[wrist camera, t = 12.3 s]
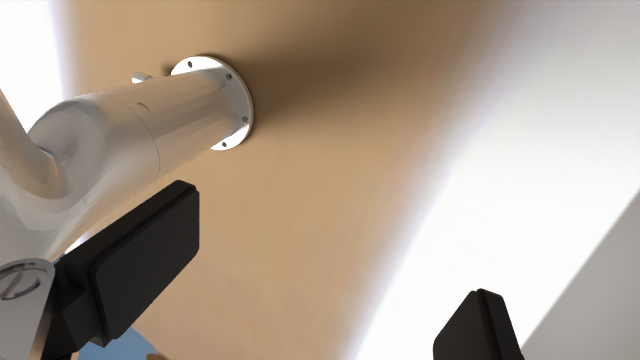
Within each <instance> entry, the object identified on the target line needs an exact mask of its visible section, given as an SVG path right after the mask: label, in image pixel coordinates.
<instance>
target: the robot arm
mask: <svg viewBox="0 0 640 360" xmlns="http://www.w3.org/2000/svg"><path fill="white" fill-rule="evenodd" d="M231 76H232V77H231ZM132 82H133V84H129V85H125V86H120V87H116V88H111V89H107V90H102V91H98V92H93V93H89V94H84V95H80V96H76V97H73V98H70V99H67V100H64V101H62V102H60V103H58V104H57V105H55V106H54V107H52V108H51V109H49V110H48V111H47V112H46V113H45V114H43V115H42V116H41V117H40V118H39V119H38V120H37V122H36V123H35V124H34V125H33V126H32V128H31V129H30V130H29V132H28V133H26V132H25V130H24V128H23V127H22V125H21V123H20V122H19V120H18V118H17V116H16V115H15V113H14V111H13V110H12V108H11V106H10V105H9V103H8V101H7V99H6V98H5V96H4V94H3V93H2V91H1V89H0V360H78V355H79V350H80V349H81V348H82V347H83V346H84V345H85V344H86V343H87V342H88V341H90V342H92V343H94V344H96V345H99V346H101V347H103V348H104V347H105V346H106V345H107V344H108V343H109V342H110V341H111V340H112V339H117V338H119V337H120V336H121V335H122V334H123V333H124V332H125V331H126V330H127V329H128V328H129V327H130V326H131V325H132V324H133V323H134V322H135V320H136V319H137V318H138V317H139V316H140V315H141V314H142V313H143V312H144V311H145V310H146V309H147V307H148V306H149V305H150V304H151V303H152V302H153V301H154V300H155V299H156V298H157V297H158V296H159V294H160V293H161V292H162V291H163V290H164V289H165V288H166V287H167V286H168V285H169V284H170V283H171V282H172V280H173V279H174V278H175V277H176V276H177V275H178V274H179V273H180V272H181V271H182V270H183V269H184V267H185V266H186V265H187V264H188V263H189V262H190V261H191V260H192V259H193V258H194V257H195V255H196V254H197V252H198V250H199V192H198V191H197V190H196V187H195V185H192V184H190V183H187V182H184V181H181V180H176V181H174V182H173V183H171V184H170V185H168V186H167V187H165V188H164V189H162V190H161V191H159V192H158V193H156V194H155V195H153V196H152V197H151V198H149V199H148V200H146V201H145V202H143V203H142V204H140V205H139V206H137V207H136V208H134V209H133V210H131V211H130V212H128V213H127V214H125V215H124V216H122V217H121V218H119V219H118V220H116V221H115V222H113V223H112V224H110V225H109V226H107V227H106V228H105V229H103V230H102V231H100V232H99V233H97V234H96V235H94V236H93V237H91V238H90V239H88V240H87V241H85V242H84V243H82V244H81V245H79V246H78V247H76V248H75V249H73V250H72V251H70V252H69V253H67V254H66V255H64V256H63V257H61V258H60V261H58V262H57V263H56V264H54V265H52V262H53V261H55V260H56V259H57V258H58V257H59V256H60V255H61V254H62V253H64V252H65V251H66V250H67V249H68V248H69V247H70V246H71V245H72V244H73V243H74V242H75V241H76V240H77V239H78V238H80V237H81V236H82V235H83V234H84V233H85V232H86V231H87V230H89V229H90V228H91V227H92V226H93V225H94V224H96V223H97V222H98V221H99V220H101V219H102V218H103V217H104V216H106V215H107V214H109V213H110V212H111V211H113V210H114V209H116V208H117V207H118V206H120V205H121V204H123V203H124V202H126V201H127V200H129V199H130V198H132V197H134V196H135V195H137V194H138V193H140V192H141V191H143V190H145V189H146V188H148V187H149V186H151V185H152V184H154V183H156V182H157V181H159V180H160V179H162V178H164V177H165V176H167V175H168V174H170V173H172V172H173V171H175V170H176V169H178V168H180V167H181V166H183V165H184V164H186V163H188V162H189V161H191V160H192V159H194V158H196V157H197V156H199V155H200V154H202V153H204V152H205V151H207V150H208V149H214V150H226V149H230V148H233V147H235V146H237V145H238V144H240V143H241V142H242V141H243V140H244V139H245V138H246V137H247V136H248V134H249V133H250V130H251V128H252V125H253V119H254V108H253V102H252V98H251V95H250V93H249V90H248V88H247V86H246V84H245V83H244V81H243V80H242V78H241V77H240V76H239V74H238V73H237V72H236V71H235V70H234V69H233V68H232V67H230V66H229V65H228V64H226V63H225V62H223V61H221V60H219V59H217V58H214V57H210V56H193V57H189V58H187V59H184V60H182V61H181V62H180V63H178V64H177V65H176V67H175V68H174V69H173V71H172V73H171V75H169V76H165V77H157V78H153V77H152V76H149V75H146V74H143V73H140V72H136V73H135V74H134V75H133V77H132ZM247 118H248V119H247ZM433 359H434V360H525V359H524V357H523V355H522V354H521V351H520V348H519V345H518V342H517V339H516V336H515V333H514V330H513V326H512V323H511V320H510V317H509V314H508V311H507V308H506V305H505V302H504V299H503V297H502V296H501V295H498V294H496V293H493V292H490V291H487V290H484V289H481V288H480V289H478V290H477V291H471V292H470V293H469V294H468V295H467V297H466V298H465V299H464V301H463V302H462V303H461V305H460V306H459V307H458V309H457V310H456V311H455V313H454V314H453V316H452V317H451V318H450V320H449V321H448V322H447V324H446V325H445V326H444V328H443V329H442V330H441V332H440V333H439V334H438V336H437V337H436V339H435V341H434V344H433Z"/></svg>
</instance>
